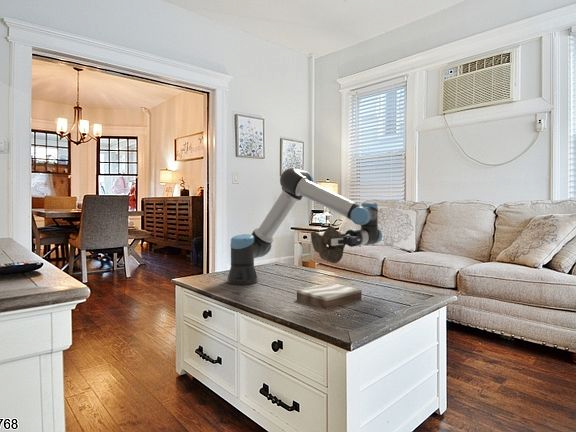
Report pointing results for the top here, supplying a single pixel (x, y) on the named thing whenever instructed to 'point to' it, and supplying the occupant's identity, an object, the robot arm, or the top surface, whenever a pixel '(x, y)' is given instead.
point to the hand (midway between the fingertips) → (321, 241)
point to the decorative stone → (321, 242)
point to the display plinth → (329, 295)
